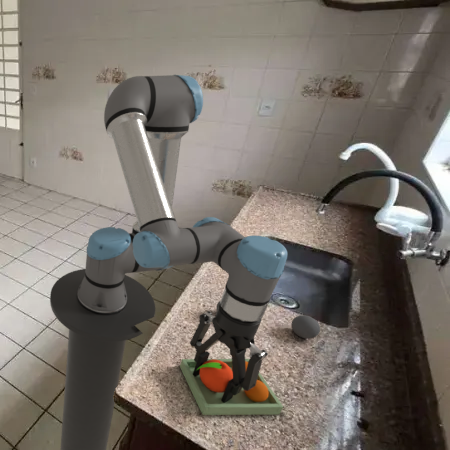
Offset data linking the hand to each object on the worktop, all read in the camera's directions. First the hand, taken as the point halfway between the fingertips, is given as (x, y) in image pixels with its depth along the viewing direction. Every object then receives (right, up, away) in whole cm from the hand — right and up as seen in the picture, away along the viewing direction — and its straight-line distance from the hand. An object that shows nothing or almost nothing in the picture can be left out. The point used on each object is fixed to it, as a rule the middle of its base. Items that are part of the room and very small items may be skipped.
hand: (211, 385), depth 80 cm
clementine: (0, 0, +1) cm, 1 cm away
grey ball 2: (+32, +10, +13) cm, 36 cm away
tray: (+4, -1, 0) cm, 4 cm away
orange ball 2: (+8, 0, -3) cm, 9 cm away
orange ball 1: (+8, +3, +1) cm, 9 cm away
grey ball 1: (+15, +13, +19) cm, 28 cm away
